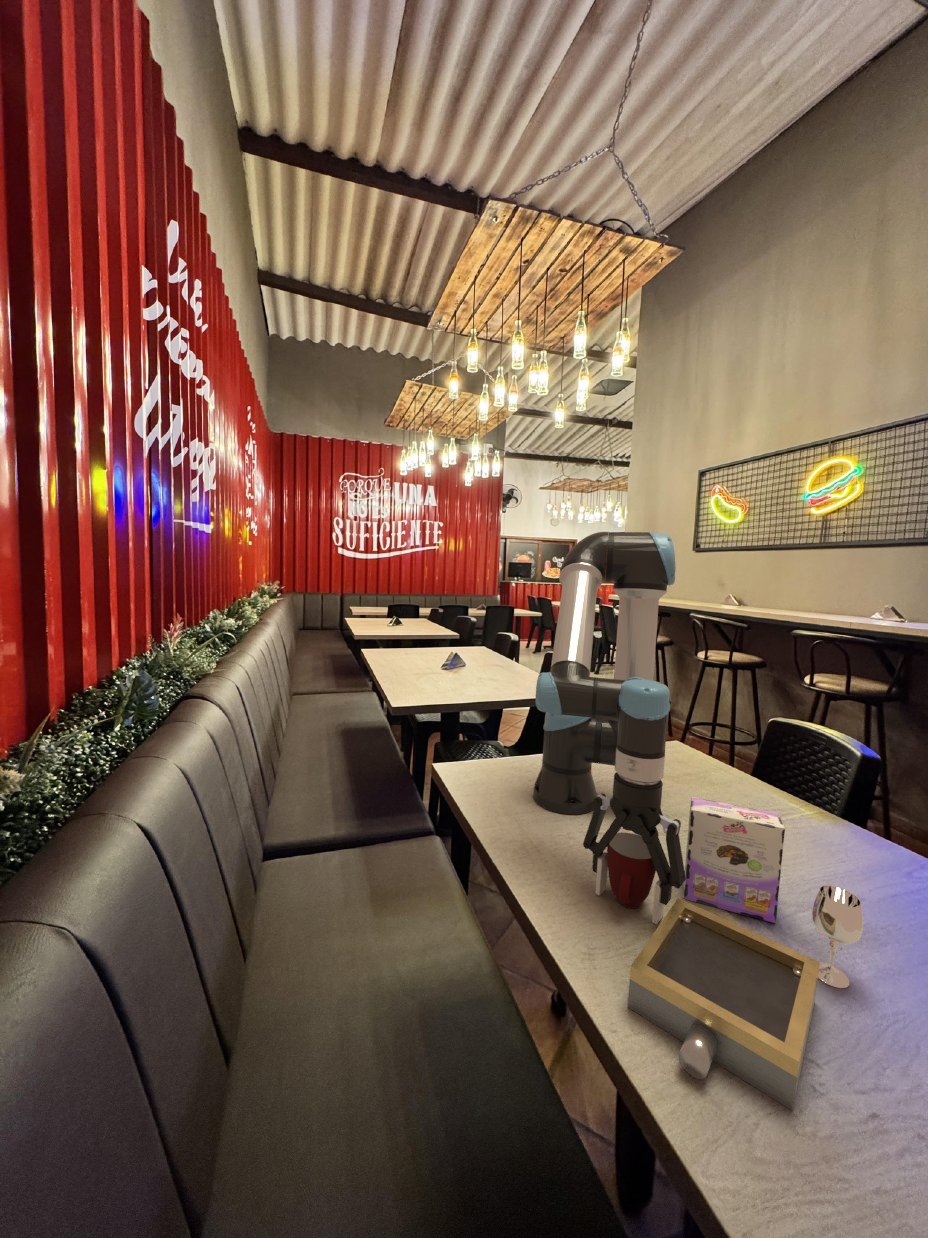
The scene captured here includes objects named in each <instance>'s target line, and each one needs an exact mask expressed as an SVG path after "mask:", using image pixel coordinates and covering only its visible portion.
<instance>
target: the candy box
mask: <svg viewBox="0 0 928 1238" xmlns="http://www.w3.org/2000/svg"><path fill="white" fill-rule="evenodd" d="M689 806H690V808H689V817H688V828H687V829H688V830H687V831H688V832H687V841H686V843H687V844H686V848H685V849H686V853H685V860H684V861H685V864H684V871H685V877H686V880H685V881H684V883H683V891H682V892H683V893H682V895H683V896H682V897H683V899H685V900H688V901H691V902H694V903H699V904H702V905H705V906H710V907H713V908H718V909H721V910H725V911H727V912H731V913H736V914H739V915H742V916H747V917H751V918H755V919H759V920H762V921H765V922H769V923H773V924H776V923H777V915H778V914H777V913H778V904H779V892H780V881H781V875H782V874H781V873H782V871H781V870H782V862H783V852H784V843H785V841H784V840H785V832H786V828H785V826H784V824H783V821H782V818H781V817H780V814H779V813H777V812H772V811H765V810H760V809H757V808H750V807H745V806H741V805H740V806H739V805H736V804H730V803H725V802H719V801H714V800H709V799H704V798H700V797H695V796H691V798H690V805H689Z"/></svg>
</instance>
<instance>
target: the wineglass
mask: <svg viewBox="0 0 928 1238" xmlns="http://www.w3.org/2000/svg"><path fill="white" fill-rule="evenodd" d="M811 919H812V923H813V924H814V926H815V928H816V930H817V931H818V932H819V933H820V934H821V935H822V936H824V938H826V939H827V940H829V942H828V947H829V953H830V955H829V959H828V960H829V962H828V963H826V962H824V961H823V962H821V961H819V962H820V965H819V973H818V980H820V981H822V982H823V983H824V984H826V985H828V986H831V987H834V988H837V989H846V988H848V987H849V986H850V980H849V977H848V976H847V975H846V973H844V972H843V971H842V970H841V969H840V968H837V967H836V966H834V962H835V961H834V960H835V955H836V952H837V951H838V949H839V944H841V945H853V944H855V943H857V942H858V941H859V940H860V939H861V937H862V935H863V932H864V925H865V923H864V920H865V919H864V912H863V906H862V902H861V899H859V897H857V895H855V894H854V893H851V892H850V891H849V890H846V889H845V888H843V887H838V886H835V885H829V884H828V885H822V886H820V887H819V889H818V890H817V893H816V894H815V897H814V899H813V903H812V907H811Z"/></svg>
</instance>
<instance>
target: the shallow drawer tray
mask: <svg viewBox="0 0 928 1238" xmlns="http://www.w3.org/2000/svg"><path fill="white" fill-rule="evenodd" d="M820 962H821V961H819V960H817V959H814V958H812V957H810V956H807V955H806V954H803V953H801V952H798V951H797V950H794V949H793V948H789V947H787V946H785V945H783V944H781V943H778V942H777V941H774V940H772V939H770V938H767V937H765V936H763V935H762V934H759V933H756V932H754V931H752V930H749V929H748V928H745V927H742V926H741V925H739V924H736V923H734V922H732V921H729V920H727V919H725V918H723V917H721V916H719V915H716V914H714V913H713V912H710V911H708V910H705V909H703V908H701V907H699V906H697V905H694V904H692V903H690V902H688V901H686V900H683V899H681V898H679V897H678V898H676V901H675V902H674V903H673V905H672V906H671V907H670V909H669V911H668V912H667V913H666V914H665V916H664V917H663V919H661V922H660V923H659V924H658V926H657V928H656V929H655V930H654V932H653V934H652V935H651V936H650V938H649V939H648V940H647V942H646V943H645V944H644V946H643V948H642V949H641V951H640V952H639V953H638V955H637V956H636V958H635V960H634V961H633V962H632V963H631V965H630V974H629V983H628V984H629V985H628V998H627V1008H628V1009H629V1010H632V1011H633V1012H635V1013H636V1014H638V1015H640V1016H641V1017H643V1018H644V1019H645V1020H647V1021H649V1022H651V1023H652V1024H654V1025H655V1026H656V1027H658V1028H660V1029H661V1030H663V1031H664V1032H666V1033H667V1034H670V1035H671V1036H672V1037H674V1038H676V1040H679V1041H681V1042H682V1045H681V1047H680V1049H679V1052H678V1061H679V1063H680V1065H681V1068H683V1069H684V1071H685V1072H686V1073H687V1074H688V1075H690V1076H691V1077H692V1078H694V1079H697V1080H703V1079H705V1078H706V1077H707V1075H708V1073H709V1070H710V1068H711V1065H712V1063H713V1062H714V1063H715V1064H717V1065H719V1066H720V1067H722V1068H723V1069H725V1070H726V1071H728V1072H730V1073H731V1074H733V1075H734V1076H736V1077H737V1078H739V1079H741V1080H742V1081H744V1082H745V1083H747V1084H749V1085H751V1086H752V1087H753V1088H755V1089H757V1090H758V1091H760V1092H761V1093H762V1094H764V1095H766V1096H768V1097H769V1098H770V1099H772V1100H774V1101H775V1102H777V1103H779V1104H780V1105H782V1106H783V1107H785V1108H787V1109H788V1110H790V1111H791V1112H793V1111H794V1108H795V1103H796V1099H797V1092H798V1087H799V1082H800V1077H801V1071H802V1067H803V1063H804V1058H805V1053H806V1048H807V1043H808V1038H809V1033H810V1028H811V1023H812V1017H813V1014H814V1009H815V1004H816V995H817V987H818V981H819V979H818V973H819V965H820Z"/></svg>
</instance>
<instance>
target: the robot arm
mask: <svg viewBox="0 0 928 1238" xmlns="http://www.w3.org/2000/svg"><path fill="white" fill-rule="evenodd" d="M673 542H674V541H673V540H672V538H671V536H670V535H668V534H666V533H661V532H650V531H648V532H647V531H646V532H645V531H644V532H643V531H641V532H640V531H626V532H625V531H621V532H620V531H619V532H617V531H616V532H615V531H598V532H594V533H592V534H589V535H588V536H585V537H584V538H582V539H581V540H579V541H578V542H577V543H576V544H575V545H574V546H573V547H572V548H571V549H570V550H569V551H568V553H567V554H566V555H565V557H564V558H563V561H562V563H561V566H560V569H559V570H560V571H559V576H558V577H559V578H558V580H559V583H560V585H561V586H562V587H561V594H560V603H559V606H558V607H559V608H558V615H557V622H556V623H557V624H556V629H555V637H554V644H553V649H552V657H551V665H550V669H549V670H550V671H548V672H540V673H539V674H538V676H537V680H536V684H535V685H536V687H535V706H536V708H537V710H538V711H540V712H542V713H545V714H544V715H545V716H544V724H543V727H542V728H543V731H544V732H543V745H542V760H541V761H542V763H541V768H540V771H539V772H538V775H537V778H536V780H535V782H534V785H533V796H532V797H533V800H534V801H535V802H536V804H538V805H539V806H540V807H542V808H543V809H546V810H547V811H551V812H555V813H558V814H563V815H584V814H587V813H590V812H593V813H592V815H591V817H590V822H589V825H588V827H587V831H586V834H585V835H584V836H585V837H584V840H583V842H582V846H583V848H584V849H589V851H590V852H591V854H592V855H593V856H592V867H591V868H592V869H591V870H592V872H593V873H596V880H595V895H597V896H601V895H602V894H603V893H604V891H606V890H607V884H608V882H607V881H608V873H609V872H608V863H607V851H606V850H607V846H608V842H609V843H610V842H611V841H612V839H613V838H614V837H615V835H616V834H617V833H619V831H620V830H621V829H622V830H625V831H628V832H629V831H631V832H633V834H636V835H640V836H642V839H643V842H644V843H646V845H647V848H648V851H649V853H650V856H651V859H652V861H653V864H654V866H655V869H656V872H655V873H656V875H657V877H658V880H657V881H656V883H655V884H654V885H655V887H654V896H653V899H654V900H653V910H652V924H655V925H659V924H658V923H659V922H660V921H661V920H662V917H663V918H664V909H665V908H664V907H665V906H667V905H668V903H669V902H670V900H672V891H673V887H674V888H675V889H681V886H683V885H684V881H685V880H686V877H685V864H684V859H683V853H682V847H681V839H680V829H681V826H682V823H681V821H680V820H679V819H678V818H675V819H673V820H672V819H671V818H668V817H666V816H664V815H663V812H662V808H661V807H662V806H661V805H662V799H663V798H662V797H663V796H662V795H663V781H662V780H663V778H664V774H665V773H664V772H665V761H666V760H665V758H666V744H667V743H666V741H667V733H668V725H669V724H668V723H669V712H671V704H670V695H671V693H670V688H669V687H668V686H667V685H666V684H663V683H661V682H660V681H655V680H654V674H655V661H656V645H657V630H658V618H659V616H658V614H659V604H660V602H659V601H660V599H661V598H662V597H663V596H664V595H666V594H667V590H668V586H669V587H670V586H671V585H674V584H675V581H676V567H677V566H676V554H675V548H674V544H673ZM603 582H604V583H613V587H612V588H613V589H612V591H613V592H614V594H616V596H618V597H619V600H618V601H619V602H618V616H617V617H618V618H617V629H616V630H617V631H616V643H615V644H616V645H615V646H616V647H615V661H614V674H613V675H614V676H613V678H607V677H596V676H590V675H591V668H592V667H591V664H592V655H593V654H592V653H593V641H594V640H593V639H594V631H595V630H594V628H595V617H596V606H597V605H596V603H597V593H598V589H599V588H600V587H601V586H602V585H603ZM592 764H599V765H604V766H605V765H606V766H613V767H614V771H615V773H614V775H613V784H612V796H611V797H608V796H607V795H606V794H605V793H603V792H602V793H600V794H598V793H597V790H596V786H595V781H594V777H593V774H592V766H593V765H592ZM609 808H610V809H611V810H612V811H611V812H612V813H613V815H614V816H615V819H613V821H612V823H611V824H610V825H609V828H607V830H606V831H605V833H604V834H603V836H602V837H601V839H600V840H599V841H598V842H597V839H598V836H599V833H600V830H601V827H602V823H603V822H604V818H605V815H606V813H607V809H609ZM659 824H660V825H661V826H662V830H663V833H664V834H665V843H666V850H667V856H666V854H665V851H664V848H663V845H662V843H661V840H660V838H659V835H660V834H659V832H658V828H657V826H659ZM667 857H668V859H667Z"/></svg>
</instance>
